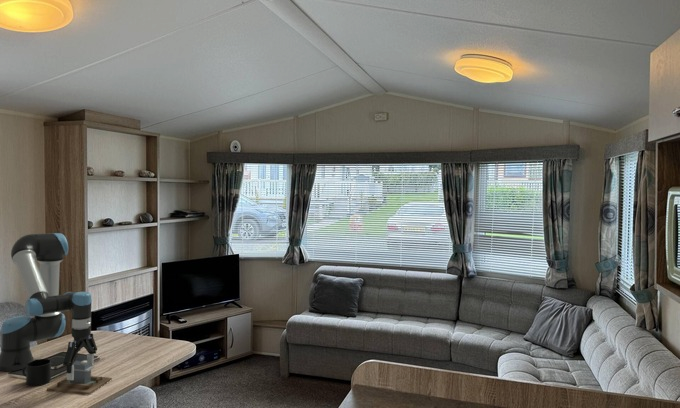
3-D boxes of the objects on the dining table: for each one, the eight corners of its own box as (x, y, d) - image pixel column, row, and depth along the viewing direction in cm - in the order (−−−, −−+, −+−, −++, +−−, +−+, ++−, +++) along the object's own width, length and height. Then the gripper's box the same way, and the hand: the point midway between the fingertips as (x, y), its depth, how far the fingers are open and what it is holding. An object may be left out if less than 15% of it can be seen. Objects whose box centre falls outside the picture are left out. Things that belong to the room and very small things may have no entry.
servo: (66, 383, 212) (67, 362, 211) (73, 379, 216) (73, 358, 216) (87, 385, 211) (87, 363, 210) (93, 381, 215) (94, 360, 215)
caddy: (46, 390, 207) (46, 385, 206) (71, 376, 222) (71, 371, 222) (89, 394, 204) (89, 389, 204) (111, 379, 220) (111, 374, 220)
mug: (28, 377, 219) (29, 358, 219) (55, 378, 220) (55, 359, 219) (15, 386, 210) (15, 366, 210) (42, 386, 210) (43, 366, 210)
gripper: (70, 336, 200) (69, 385, 200) (106, 320, 224) (105, 364, 225) (53, 334, 200) (52, 384, 201) (91, 318, 225) (90, 362, 226)
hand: (80, 373), depth 213 cm, fingers open, 13 cm apart
